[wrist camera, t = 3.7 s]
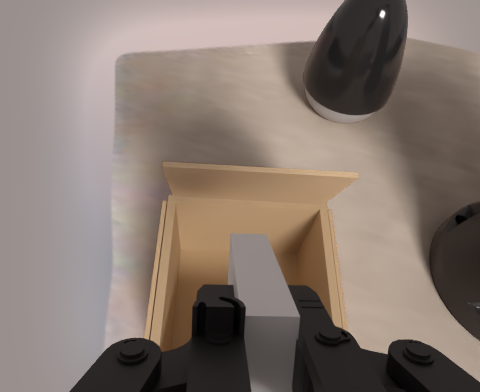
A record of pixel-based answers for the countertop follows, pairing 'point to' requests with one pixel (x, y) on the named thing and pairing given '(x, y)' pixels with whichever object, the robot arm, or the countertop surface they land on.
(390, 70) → the pump dispenser
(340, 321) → the carton
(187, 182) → the front flap
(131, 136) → the countertop surface
